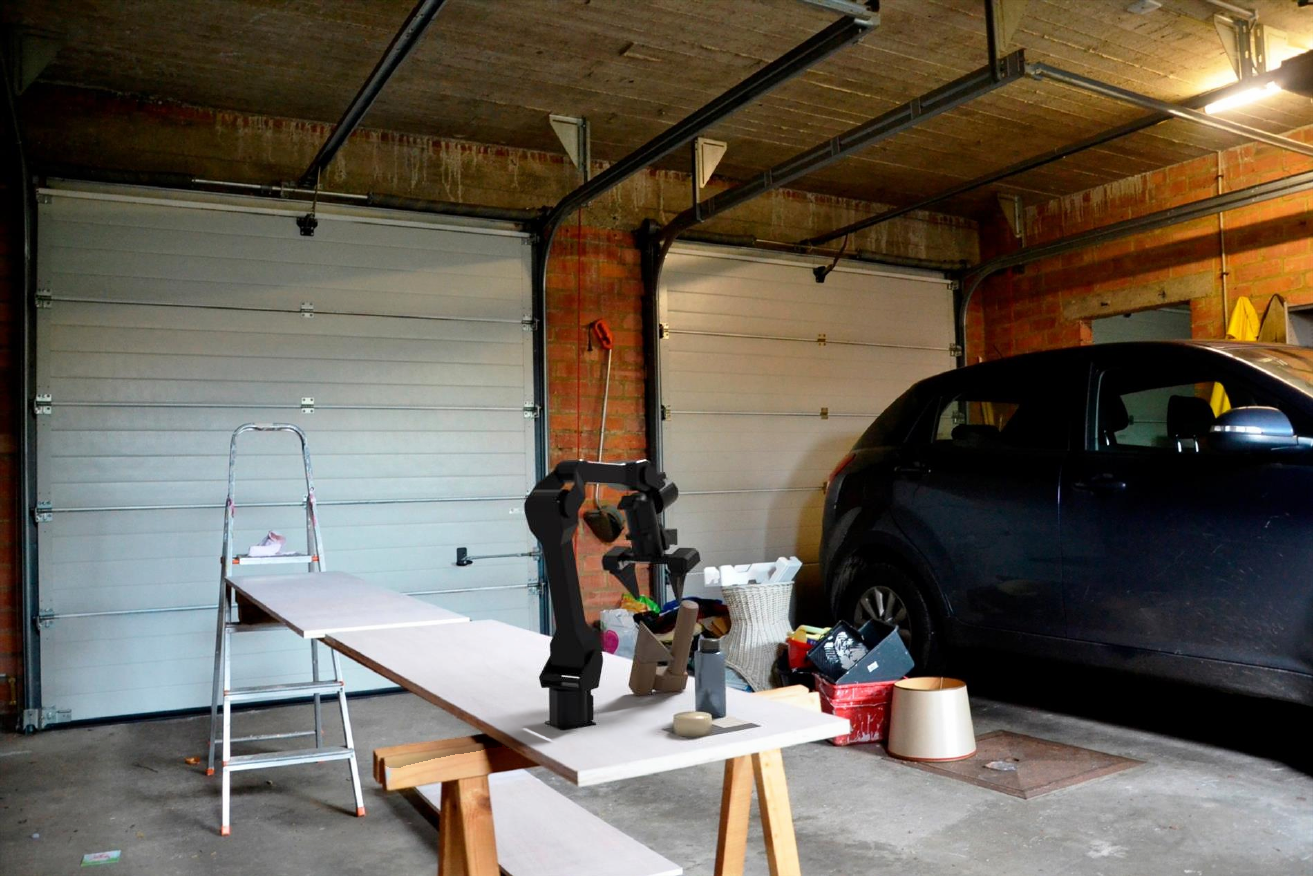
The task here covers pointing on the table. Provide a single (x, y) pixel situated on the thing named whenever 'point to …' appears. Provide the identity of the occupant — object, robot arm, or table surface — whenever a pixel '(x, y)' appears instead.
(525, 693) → the table surface
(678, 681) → the wooden block
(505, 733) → the table surface
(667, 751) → the table surface
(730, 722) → the mat
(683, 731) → the beige round puck
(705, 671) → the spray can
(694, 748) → the table surface
